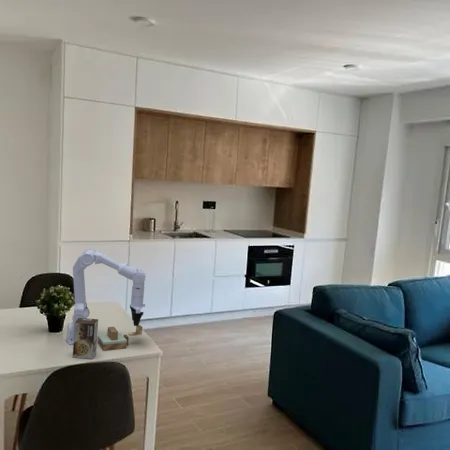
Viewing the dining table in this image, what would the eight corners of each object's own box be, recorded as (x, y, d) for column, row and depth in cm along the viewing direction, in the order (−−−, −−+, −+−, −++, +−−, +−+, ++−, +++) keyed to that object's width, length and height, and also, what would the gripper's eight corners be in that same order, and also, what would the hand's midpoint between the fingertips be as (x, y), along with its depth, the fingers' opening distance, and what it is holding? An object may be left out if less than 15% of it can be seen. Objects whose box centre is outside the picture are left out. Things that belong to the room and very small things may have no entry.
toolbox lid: (103, 344, 206) (104, 334, 205) (97, 336, 214) (98, 326, 214) (126, 342, 211) (127, 332, 211) (120, 334, 220) (121, 324, 219)
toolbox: (102, 350, 206) (103, 342, 206) (97, 342, 215) (98, 334, 214) (130, 347, 213) (130, 339, 212) (123, 340, 221) (124, 332, 221)
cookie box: (96, 353, 203) (99, 319, 201) (92, 359, 196) (95, 323, 195) (76, 351, 202) (78, 317, 201) (71, 357, 196) (74, 322, 194)
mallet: (129, 336, 215) (130, 328, 215) (128, 334, 218) (128, 326, 218) (141, 335, 218) (142, 327, 218) (139, 333, 221) (140, 325, 221)
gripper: (147, 300, 210) (145, 328, 212) (144, 291, 224) (141, 318, 226) (132, 300, 208) (130, 328, 210) (129, 291, 222) (127, 317, 223)
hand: (135, 322), depth 217 cm, fingers open, 7 cm apart
